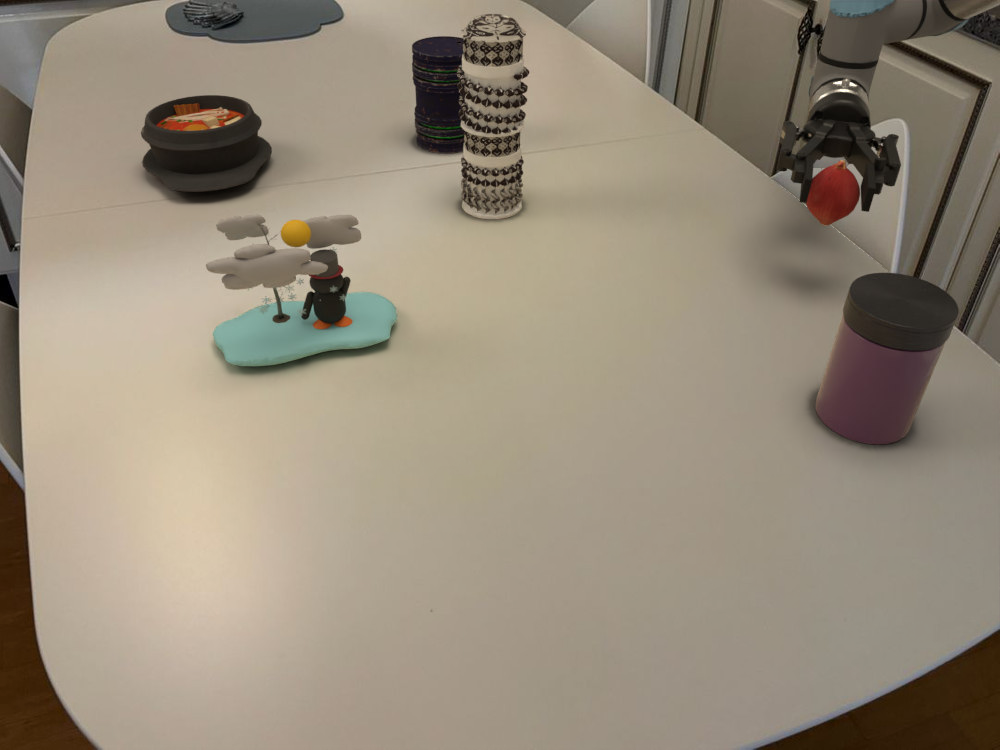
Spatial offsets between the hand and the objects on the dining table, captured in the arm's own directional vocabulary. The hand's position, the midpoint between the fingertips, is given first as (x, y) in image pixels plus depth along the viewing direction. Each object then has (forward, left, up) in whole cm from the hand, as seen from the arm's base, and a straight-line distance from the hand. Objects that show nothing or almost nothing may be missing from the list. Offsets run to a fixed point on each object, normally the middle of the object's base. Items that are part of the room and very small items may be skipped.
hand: (836, 195), depth 92 cm
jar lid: (-6, +19, -1) cm, 20 cm away
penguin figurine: (+52, +25, -14) cm, 59 cm away
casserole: (+87, -10, -14) cm, 89 cm away
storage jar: (+57, -31, -14) cm, 67 cm away
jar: (-6, +19, -14) cm, 24 cm away
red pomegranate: (0, -5, -6) cm, 8 cm away
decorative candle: (+43, -12, -14) cm, 47 cm away
